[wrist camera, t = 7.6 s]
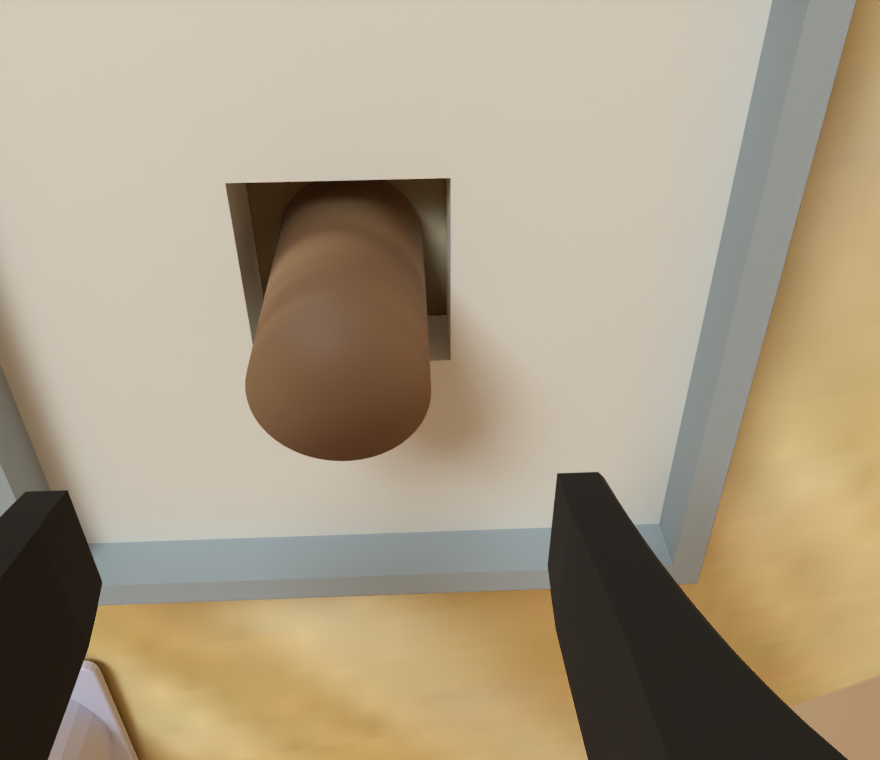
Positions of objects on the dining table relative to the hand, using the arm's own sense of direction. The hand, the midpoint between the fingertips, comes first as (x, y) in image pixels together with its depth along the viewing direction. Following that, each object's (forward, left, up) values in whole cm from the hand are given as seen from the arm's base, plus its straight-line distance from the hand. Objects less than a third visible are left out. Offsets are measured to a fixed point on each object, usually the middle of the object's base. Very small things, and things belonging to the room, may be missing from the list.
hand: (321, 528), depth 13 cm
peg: (0, 0, -9) cm, 9 cm away
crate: (0, 0, -9) cm, 9 cm away
